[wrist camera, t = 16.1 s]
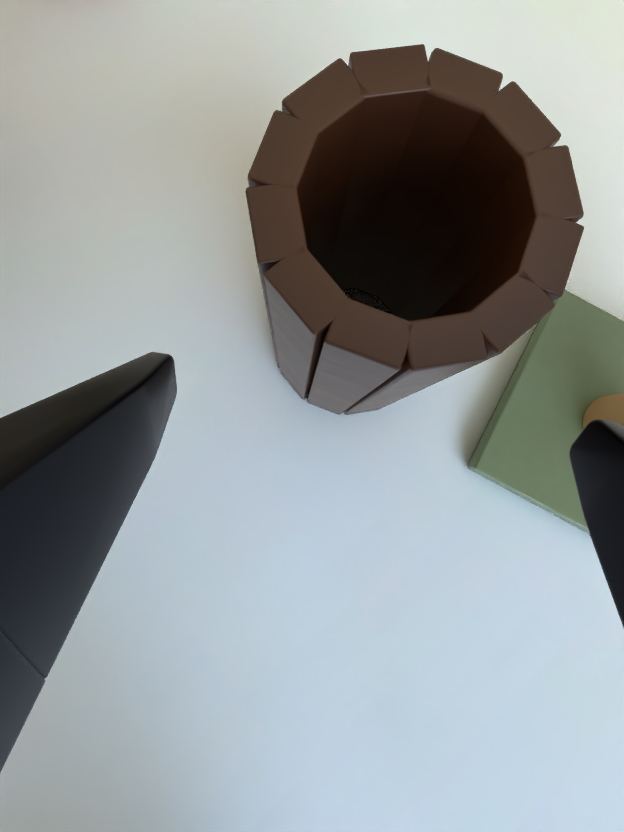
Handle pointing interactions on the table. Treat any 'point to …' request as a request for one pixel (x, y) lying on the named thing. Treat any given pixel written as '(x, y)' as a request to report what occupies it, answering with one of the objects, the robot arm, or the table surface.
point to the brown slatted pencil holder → (407, 223)
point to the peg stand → (555, 405)
